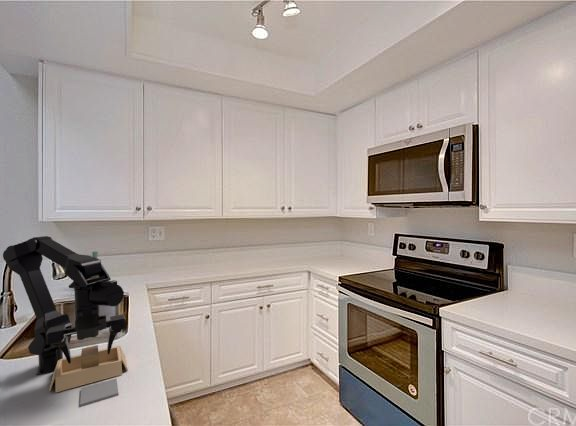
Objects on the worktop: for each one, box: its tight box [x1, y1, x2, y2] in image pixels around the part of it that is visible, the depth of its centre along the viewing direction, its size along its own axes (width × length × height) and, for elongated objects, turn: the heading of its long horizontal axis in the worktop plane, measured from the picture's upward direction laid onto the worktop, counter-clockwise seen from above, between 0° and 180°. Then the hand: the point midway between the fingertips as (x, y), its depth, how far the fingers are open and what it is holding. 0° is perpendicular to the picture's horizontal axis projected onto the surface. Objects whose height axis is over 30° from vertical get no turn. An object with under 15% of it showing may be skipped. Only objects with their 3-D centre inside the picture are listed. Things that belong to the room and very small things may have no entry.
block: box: [81, 344, 99, 370], centre depth 89 cm, size 8×4×6 cm, turn 32°
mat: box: [79, 377, 119, 408], centre depth 79 cm, size 8×8×1 cm
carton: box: [48, 345, 129, 393], centre depth 89 cm, size 14×18×4 cm
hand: (89, 358), depth 88 cm, fingers open, 9 cm apart
